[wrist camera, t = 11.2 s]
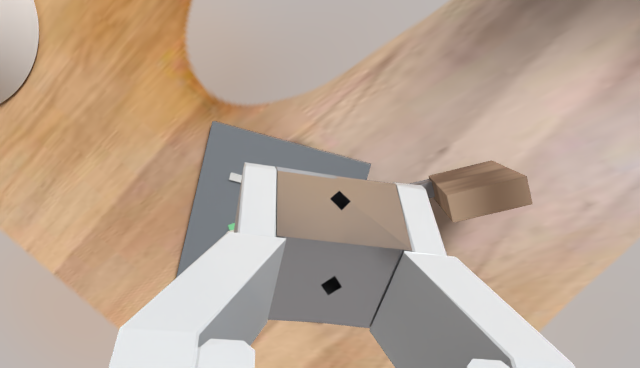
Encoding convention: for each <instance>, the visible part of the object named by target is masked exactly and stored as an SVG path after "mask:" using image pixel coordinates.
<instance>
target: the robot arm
mask: <svg viewBox="0 0 640 368" xmlns="http://www.w3.org/2000/svg"><path fill="white" fill-rule="evenodd" d="M38 40H39V24H38V16H37V11H36V7H35V3H34V0H0V103H2V102H3V101H5V100H6V99H8V98H9V97H10V96H12V95H13V94H14V93H15V92H16V91H17V90H18V89H19V87H20V86H21V85H22V84H23V82H24V81H25V79H26V78H27V76H28V74H29V72H30V70H31V68H32V66H33V63H34V60H35V57H36V53H37V48H38ZM267 320H284V321H302V322H319V323H328V324H337V325H346V326H355V327H364V328H370V332H371V333H372V335H373V336H374V338H375V339H376V341H377V342H378V343H379V345H380V346H381V348H382V349H383V351H384V352H385V354H386V355H387V356H388V358H389V359H390V361H391V362H392V364H393V365H394V366H395V368H575V366H574V364H573V363H572V362H571V361H570V360H568V359H567V358H566V357H565V356H564V355H563V354H562V353H561V352H560V351H559V350H558V349H556V348H555V347H554V346H553V345H552V344H551V343H550V342H549V341H548V340H547V339H545V338H544V337H543V336H542V335H541V334H540V333H539V332H538V331H537V330H536V329H534V328H533V327H532V326H531V325H530V324H529V323H528V322H527V321H526V320H525V319H523V318H522V317H521V316H520V315H519V314H518V313H517V312H516V311H515V310H514V309H512V308H511V307H510V306H509V305H508V304H507V303H506V302H505V301H504V300H503V299H501V298H500V297H499V296H498V295H497V294H496V293H495V292H494V291H493V290H492V289H490V288H489V287H488V286H487V285H486V284H485V283H484V282H483V281H482V280H481V279H479V278H478V277H477V276H476V275H475V274H474V273H473V272H472V271H471V270H470V269H468V268H467V267H466V266H465V265H464V264H463V263H462V262H461V261H460V260H459V259H457V258H456V257H453V256H447V254H446V251H445V248H444V245H443V242H442V239H441V235H440V232H439V229H438V226H437V223H436V220H435V217H434V214H433V211H432V208H431V204H430V201H429V198H428V195H427V192H426V189H425V188H424V187H423V186H422V185H414V184H404V183H394V182H393V183H386V182H378V181H370V180H362V179H355V178H347V177H339V176H334V175H328V174H321V173H315V172H308V171H302V170H295V169H289V168H282V167H276V168H275V166H267V165H260V164H253V163H246V162H245V164H244V167H243V173H242V179H241V186H240V193H239V199H238V206H237V212H236V219H235V226H234V232H227V233H226V234H225V235H224V236H223V237H222V238H221V239H219V240H218V241H217V242H216V243H215V244H214V245H213V246H212V247H210V248H209V249H208V250H207V251H206V252H205V253H204V254H203V255H201V256H200V257H199V258H198V259H197V260H196V261H195V262H194V263H192V264H191V265H190V266H189V267H188V268H187V269H186V270H185V271H183V272H182V273H181V274H180V275H179V276H178V277H177V278H176V279H175V280H173V281H172V282H171V283H170V284H169V285H168V286H167V287H166V288H164V289H163V290H162V291H161V292H160V293H159V294H158V295H157V296H155V297H154V298H153V299H152V300H151V301H150V302H149V303H148V304H146V305H145V306H144V307H143V308H142V309H141V310H140V311H139V312H137V313H136V314H135V315H134V316H133V317H132V318H131V319H130V320H128V321H127V322H126V323H125V324H124V325H123V326H122V327H121V328H120V329H119V333H118V336H117V340H116V344H115V347H114V350H113V354H112V358H111V361H110V365H109V368H255V350H254V349H253V348H252V347H250V345H251V344H252V342H253V341H254V340H255V338H256V337H257V336H258V334H259V333H260V332H261V330H262V329H263V327H264V326H265V325H266V323H267Z"/></svg>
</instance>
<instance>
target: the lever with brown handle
mask: <svg viewBox="0 0 640 368" xmlns="http://www.w3.org/2000/svg"><path fill="white" fill-rule="evenodd" d="M410 184H414V185H422V186H423V187H424V188H425V189H426V192H427V195H428V198H433V197H434V198H435V200H436V201H437V202H438V204H439V205H440V206H441V208H442V209H443V210H444V212H445V213H446V214H447V215H448V217H449V218H450V219H451V221H452V222H453V223H454V222H458V221H462V220H467V219H471V218H475V217H479V216H484V215H488V214H492V213H497V212H501V211H505V210H509V209H514V208H518V207H522V206H526V205H531V204H532V199H531V194H530V190H529V185H528V180H527V176H525V175H523V174H520V173H518V172H516V171H514V170H512V169H509V168H507V167H505V166H503V165H501V164H498V163H496V162H494V161H488V162H483V163H479V164H475V165H471V166H467V167H463V168H459V169H455V170H451V171H447V172H443V173H438V174H434V175H430V176H429V179H427V180H423V181H419V182H415V183H410ZM228 232H234V230H230V231H228Z"/></svg>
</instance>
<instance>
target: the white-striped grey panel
mask: <svg viewBox="0 0 640 368" xmlns="http://www.w3.org/2000/svg"><path fill="white" fill-rule="evenodd" d="M245 162H246V163H253V164H260V165H267V166H275V168H276V167H282V168H289V169H295V170H302V171H308V172H315V173H321V174H328V175H334V176H339V177H347V178H355V179H362V180H367V176H368V173H369V169H370V166H371V164H370V163H367V162H363V161H359V160H356V159H352V158H348V157H345V156H341V155H337V154H334V153H330V152H327V151H323V150H319V149H316V148H312V147H308V146H305V145H301V144H297V143H294V142H290V141H286V140H283V139H279V138H275V137H272V136H268V135H264V134H261V133H257V132H253V131H250V130H246V129H242V128H239V127H235V126H231V125H228V124H224V123H220V122H217V121H212V126H211V130H210V134H209V139H208V143H207V147H206V152H205V156H204V160H203V165H202V169H201V173H200V178H199V182H198V186H197V191H196V195H195V199H194V204H193V208H192V212H191V217H190V221H189V225H188V230H187V234H186V238H185V242H184V247H183V251H182V255H181V260H180V264H179V268H178V273H177V277H178V276H179V275H180V274H181V273H182V272H183V271H185V270H186V269H187V268H188V267H189V266H190V265H191V264H192V263H194V262H195V261H196V260H197V259H198V258H199V257H200V256H201V255H203V254H204V253H205V252H206V251H207V250H208V249H209V248H210V247H212V246H213V245H214V244H215V243H216V242H217V241H218V240H219V239H221V238H222V237H223V236H224V235H225V234H226V233H227V232H228V231H230V230H234V226H235V219H236V212H237V206H238V199H239V193H240V186H241V179H242V173H243V167H244V164H245ZM177 277H176V278H177Z"/></svg>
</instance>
